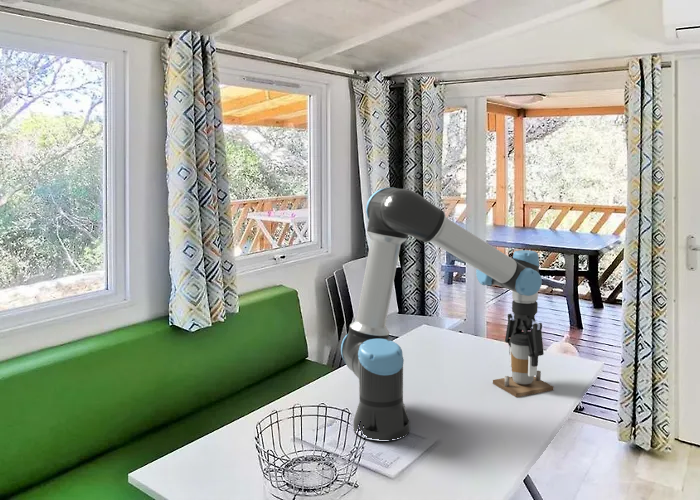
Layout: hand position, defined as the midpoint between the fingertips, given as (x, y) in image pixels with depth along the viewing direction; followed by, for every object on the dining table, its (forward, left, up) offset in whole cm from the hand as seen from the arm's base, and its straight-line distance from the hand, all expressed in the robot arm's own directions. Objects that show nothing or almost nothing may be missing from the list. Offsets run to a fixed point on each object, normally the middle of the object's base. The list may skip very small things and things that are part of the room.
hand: (522, 370), depth 180 cm
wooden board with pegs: (0, 0, -5) cm, 5 cm away
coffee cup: (0, 0, -4) cm, 4 cm away
